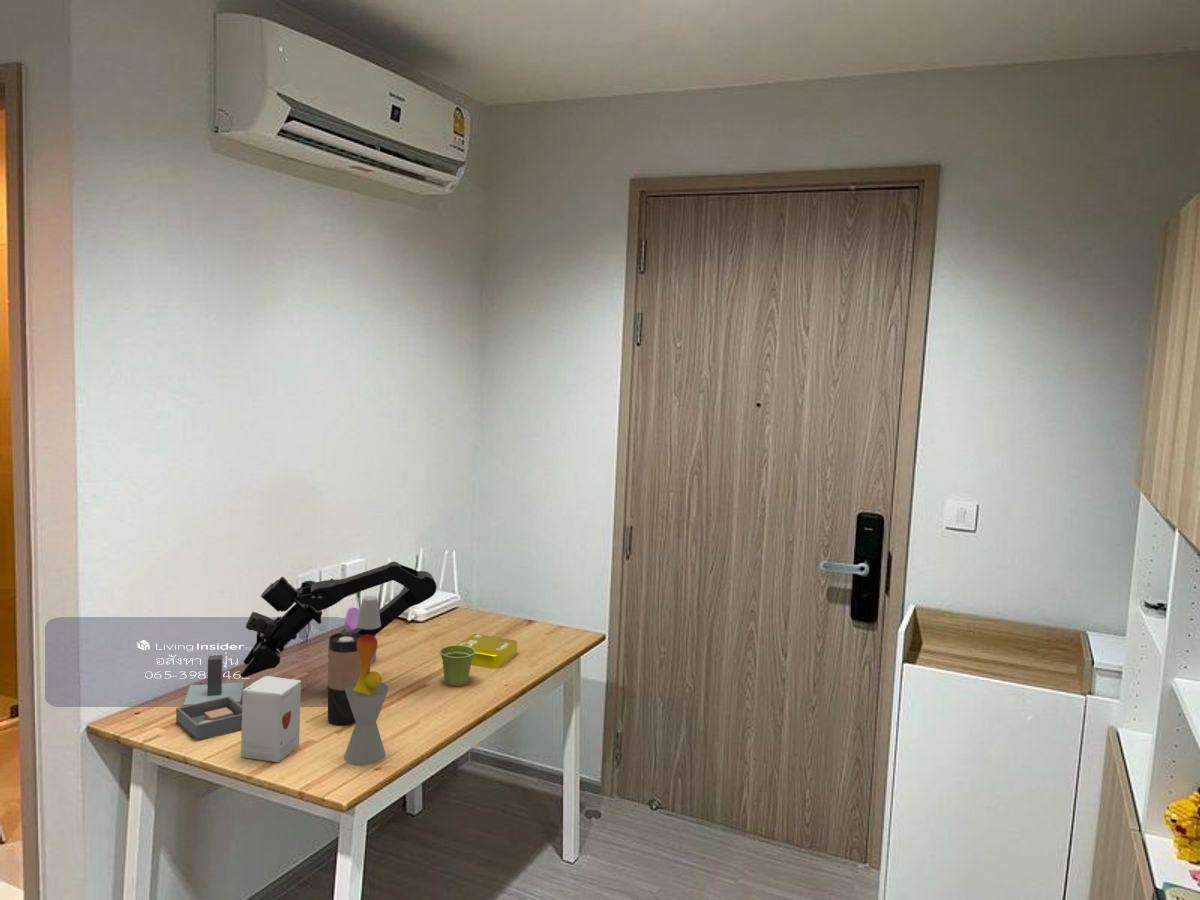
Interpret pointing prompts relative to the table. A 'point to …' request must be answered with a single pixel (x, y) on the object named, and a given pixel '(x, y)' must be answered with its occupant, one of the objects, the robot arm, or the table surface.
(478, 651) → the element tile
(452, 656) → the plant pot
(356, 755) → the lava lamp
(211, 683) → the slate lid
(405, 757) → the table surface
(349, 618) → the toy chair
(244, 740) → the supplement box
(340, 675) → the travel mug
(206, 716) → the storage box
